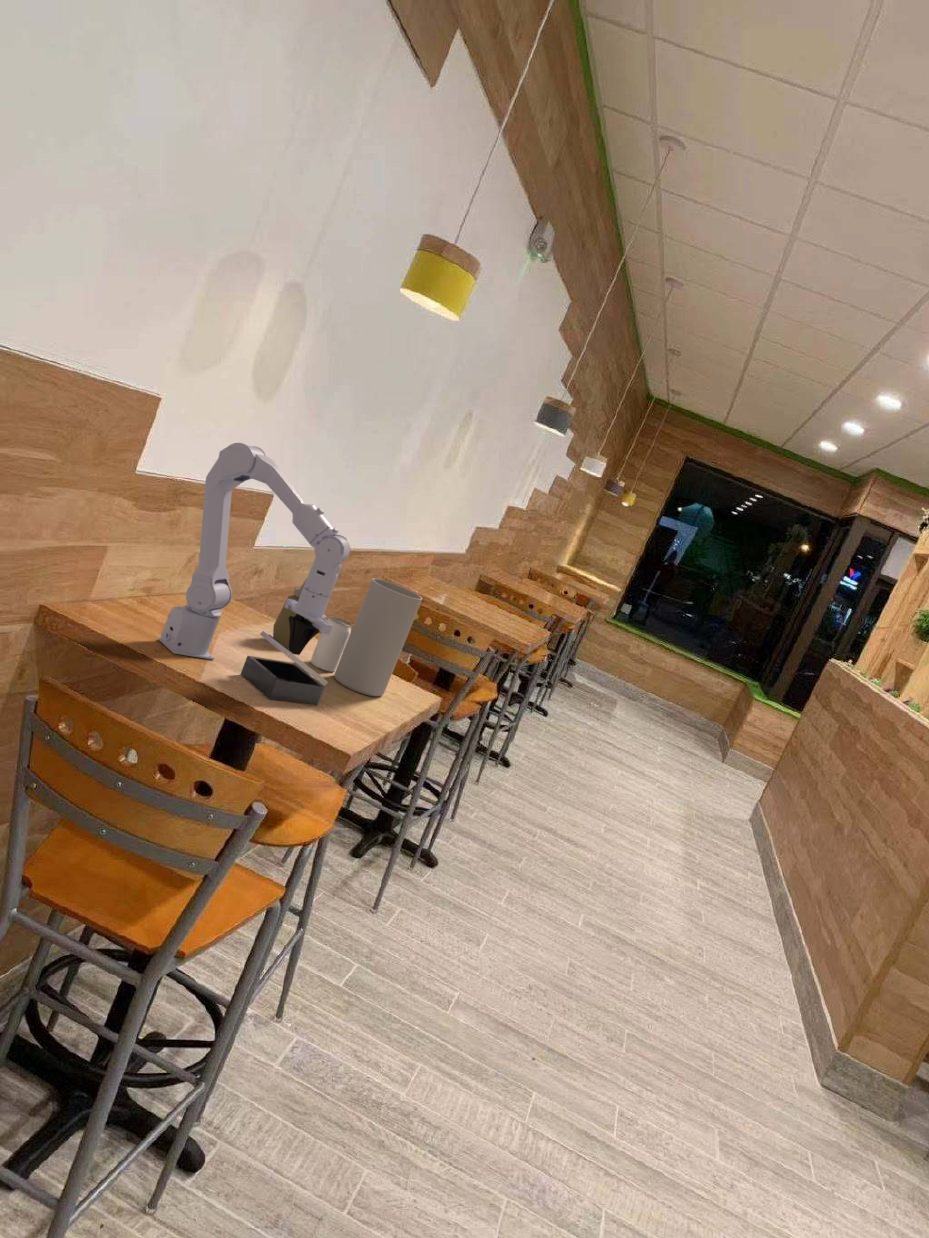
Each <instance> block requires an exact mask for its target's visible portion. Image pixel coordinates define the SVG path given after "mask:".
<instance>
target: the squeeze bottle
mask: <svg viewBox="0 0 929 1238" xmlns="http://www.w3.org/2000/svg"><path fill="white" fill-rule="evenodd" d="M306 579H307V577H306ZM306 579H305V580H304V582H303V583H302V585H301V586H300V587H296V588H295V589H294V591H293V594H291V595H288V596H287V598H286V600H285V602H284V604H283V606H282V608H281V610H280V612H279V614H278V615H277V618H276V620H275V621H274V624H273V629H272V632H273V633H272V637H273V638H275V639H276V640H277V641H279V642H280V643H281V644H282V645H284V646H285V647H286V648H288V649H289V640H290V625H289V616H293V617H295V616H296V613H294V612H293V611H291V610H290V609H287V608H285V604H286V601H287V599H292V600H295V601H297V602H298V600H299V598H300V595H301V592H302V590H303V587H304V585H305V582H306Z"/></svg>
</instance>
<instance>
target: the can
mask: <svg viewBox="0 0 929 1238" xmlns="http://www.w3.org/2000/svg"><path fill="white" fill-rule="evenodd" d="M326 620H327V621H328V622H329V623H330V624H331V625H332V628H331V631H330V633H329V634H325V633H321V632H320V635H319V638H318V640H317V643H316V645H315V647H314V651H313V653H312V656H311V658H310V664H311V665H312V666H313V667H315V668H317V669H319V670H321V671H325V672H327V673H335V671H336V669H337V666H338V664H339V661H340V659H341V656H342V654H343V651H344V649H345V646H346V644H347V641H348V639H349V636H350V634H351V631H352V628H351V627H352V624H351V623H350V622H349V621H346V620H344V619H342V618H339V617H337V616H336V617H335V616H329V617H328V619H326Z"/></svg>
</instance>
